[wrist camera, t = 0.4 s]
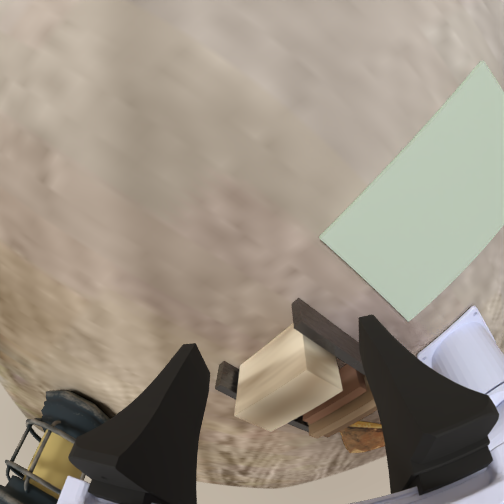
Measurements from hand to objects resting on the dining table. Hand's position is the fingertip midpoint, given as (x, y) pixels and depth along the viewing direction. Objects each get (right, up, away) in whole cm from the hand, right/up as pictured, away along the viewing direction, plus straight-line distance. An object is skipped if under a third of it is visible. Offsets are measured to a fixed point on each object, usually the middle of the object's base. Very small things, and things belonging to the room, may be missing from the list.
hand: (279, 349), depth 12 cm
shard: (+13, -21, +21) cm, 33 cm away
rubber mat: (+15, +9, +6) cm, 18 cm away
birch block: (+2, -5, +14) cm, 15 cm away
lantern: (-26, -19, +22) cm, 39 cm away
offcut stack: (+8, -10, +16) cm, 20 cm away
